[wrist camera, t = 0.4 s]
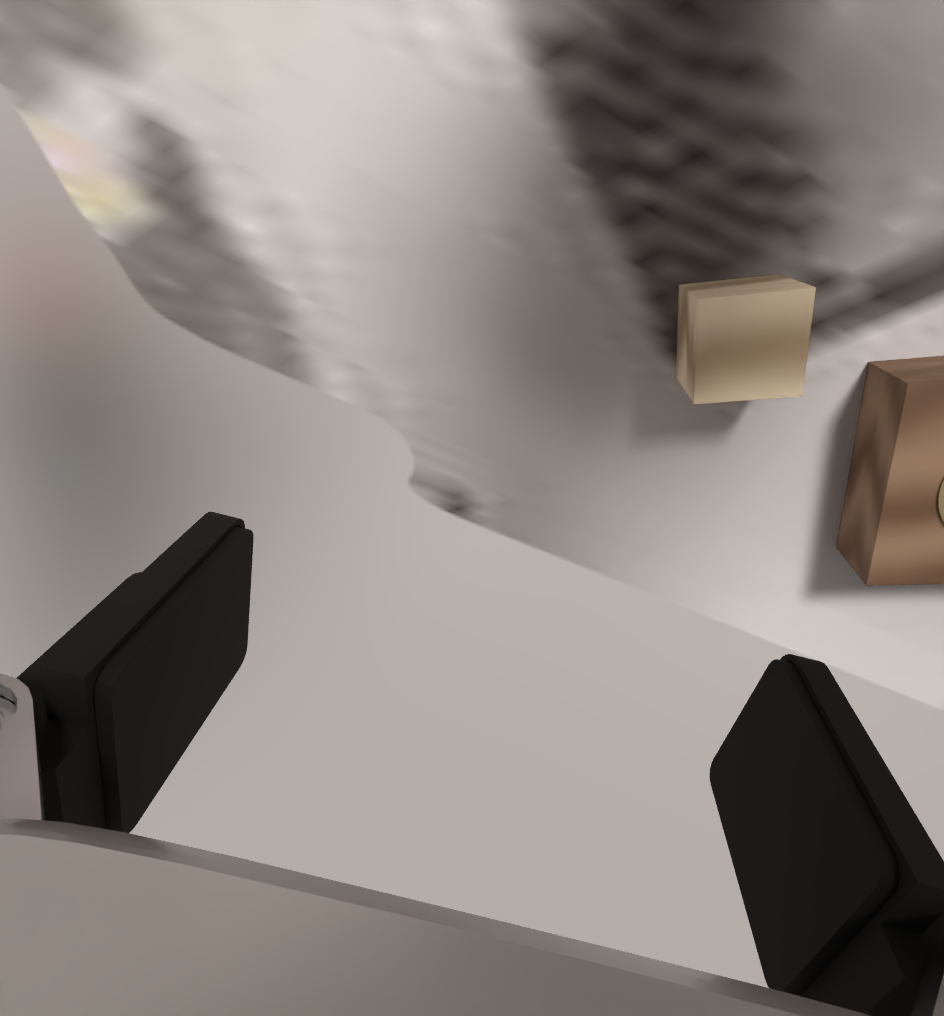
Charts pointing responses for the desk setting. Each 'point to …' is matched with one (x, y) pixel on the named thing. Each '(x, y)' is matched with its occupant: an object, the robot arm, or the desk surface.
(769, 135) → the desk surface
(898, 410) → the base
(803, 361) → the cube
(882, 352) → the desk surface
